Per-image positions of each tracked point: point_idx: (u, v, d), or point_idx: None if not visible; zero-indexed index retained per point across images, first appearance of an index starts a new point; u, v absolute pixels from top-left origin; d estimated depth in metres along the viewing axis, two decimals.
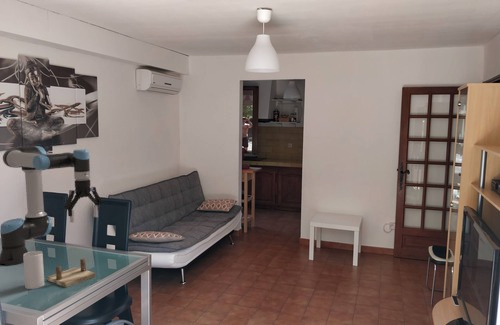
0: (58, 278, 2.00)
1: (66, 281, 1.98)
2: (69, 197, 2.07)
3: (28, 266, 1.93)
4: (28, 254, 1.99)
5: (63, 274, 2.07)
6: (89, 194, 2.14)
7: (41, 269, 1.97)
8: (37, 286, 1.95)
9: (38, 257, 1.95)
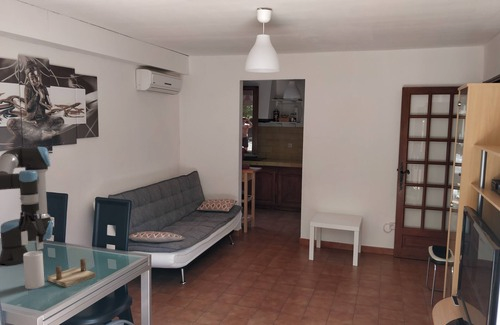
0: (58, 278, 2.00)
1: (66, 281, 1.98)
2: None
3: (28, 266, 1.93)
4: (28, 254, 1.99)
5: (63, 274, 2.07)
6: (30, 221, 1.92)
7: (41, 269, 1.97)
8: (37, 286, 1.95)
9: (38, 257, 1.95)
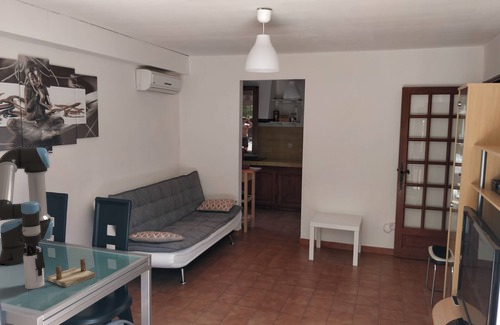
0: (58, 278, 2.00)
1: (66, 281, 1.98)
2: None
3: (28, 266, 1.93)
4: None
5: (63, 274, 2.07)
6: (31, 253, 1.94)
7: None
8: (37, 286, 1.95)
9: None
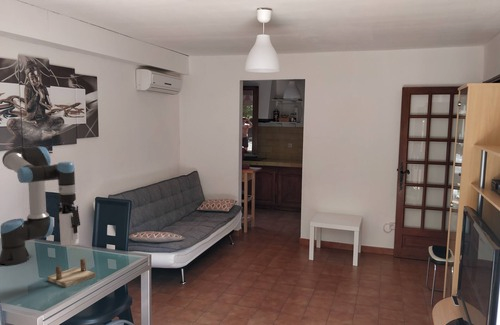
0: (58, 278, 2.00)
1: (66, 281, 1.98)
2: None
3: (64, 224, 2.00)
4: None
5: (63, 274, 2.07)
6: (67, 211, 2.01)
7: None
8: (72, 243, 2.02)
9: None
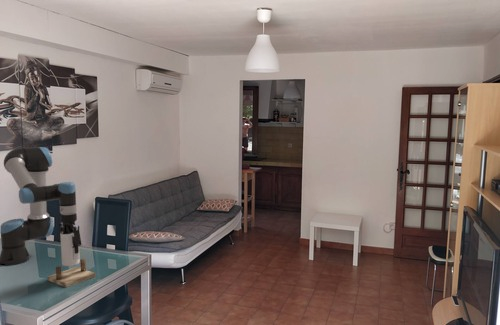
0: (58, 278, 2.00)
1: (66, 281, 1.98)
2: None
3: (65, 244, 2.01)
4: None
5: (63, 274, 2.07)
6: (68, 231, 2.02)
7: None
8: (73, 263, 2.03)
9: None
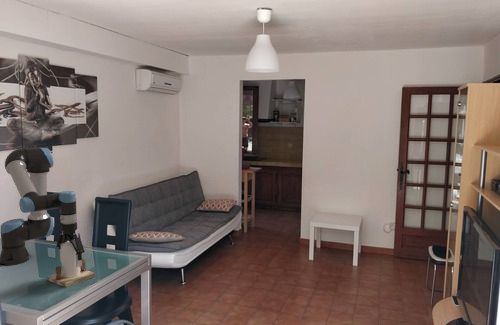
0: (58, 278, 2.00)
1: (66, 281, 1.98)
2: None
3: (66, 256, 2.01)
4: (64, 244, 2.07)
5: None
6: (69, 239, 2.02)
7: None
8: (74, 275, 2.03)
9: None
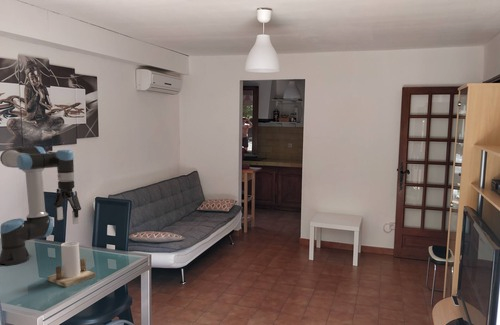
0: (58, 278, 2.00)
1: (66, 281, 1.98)
2: None
3: (66, 256, 2.01)
4: (65, 244, 2.07)
5: None
6: (66, 197, 2.05)
7: (78, 259, 2.05)
8: (74, 275, 2.03)
9: (75, 247, 2.03)
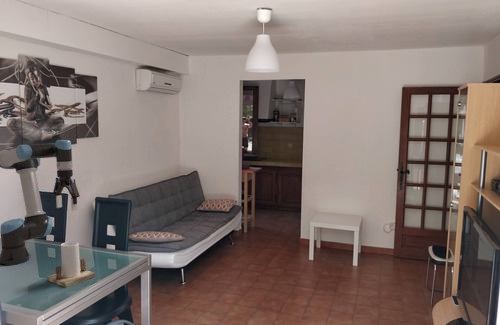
0: (58, 278, 2.00)
1: (66, 281, 1.98)
2: None
3: (66, 256, 2.01)
4: (65, 244, 2.07)
5: None
6: (65, 185, 2.14)
7: (78, 259, 2.05)
8: (74, 275, 2.03)
9: (75, 247, 2.03)
